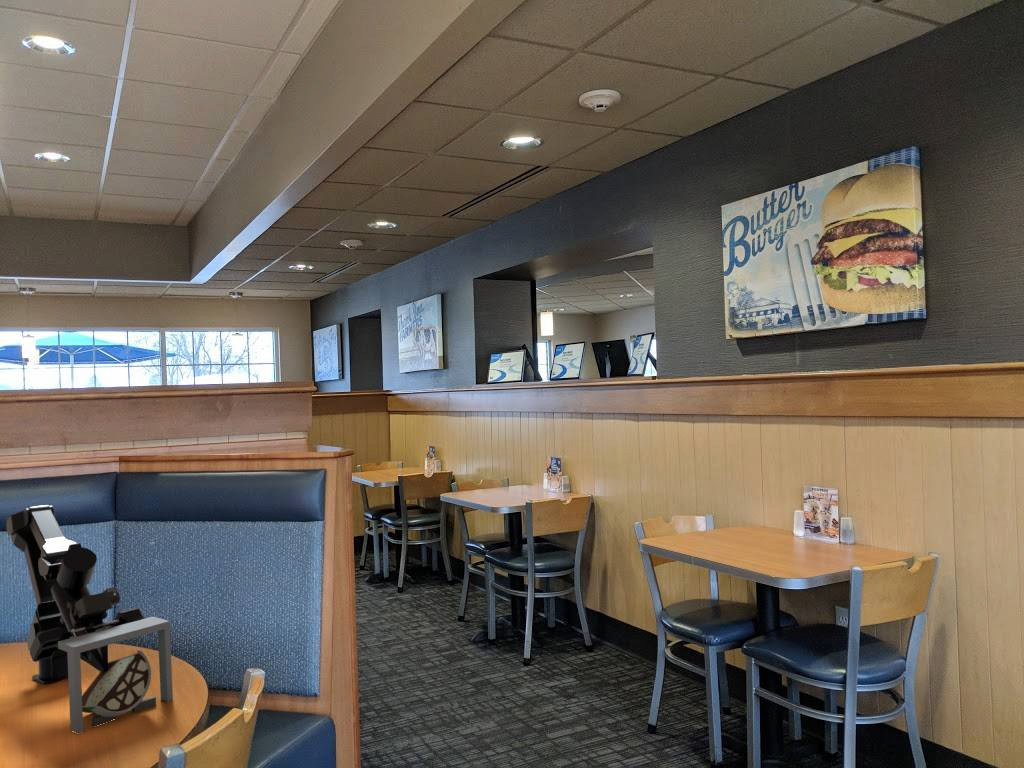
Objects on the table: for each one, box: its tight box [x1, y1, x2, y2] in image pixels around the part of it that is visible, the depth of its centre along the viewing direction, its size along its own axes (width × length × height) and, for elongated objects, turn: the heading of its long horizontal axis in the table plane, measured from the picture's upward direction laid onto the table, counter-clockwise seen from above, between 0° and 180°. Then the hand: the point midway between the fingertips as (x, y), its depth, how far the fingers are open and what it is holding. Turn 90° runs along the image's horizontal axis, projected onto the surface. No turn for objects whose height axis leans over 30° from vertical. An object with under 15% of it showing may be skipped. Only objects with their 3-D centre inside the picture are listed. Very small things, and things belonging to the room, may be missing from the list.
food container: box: [82, 650, 152, 717], centre depth 142 cm, size 12×6×10 cm
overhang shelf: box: [58, 616, 174, 734], centre depth 141 cm, size 6×17×15 cm, turn 143°
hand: (105, 671), depth 144 cm, fingers closed
